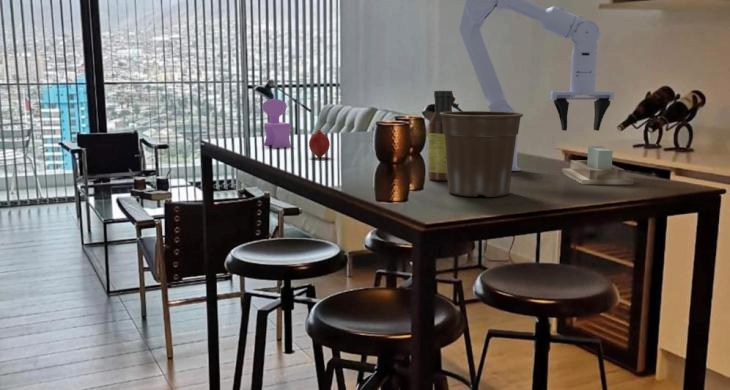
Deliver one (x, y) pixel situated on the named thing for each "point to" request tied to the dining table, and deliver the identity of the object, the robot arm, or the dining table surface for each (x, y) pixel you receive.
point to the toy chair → (276, 124)
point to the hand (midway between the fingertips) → (580, 130)
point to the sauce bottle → (438, 137)
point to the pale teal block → (599, 158)
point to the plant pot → (480, 151)
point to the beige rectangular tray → (596, 174)
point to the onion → (319, 143)
